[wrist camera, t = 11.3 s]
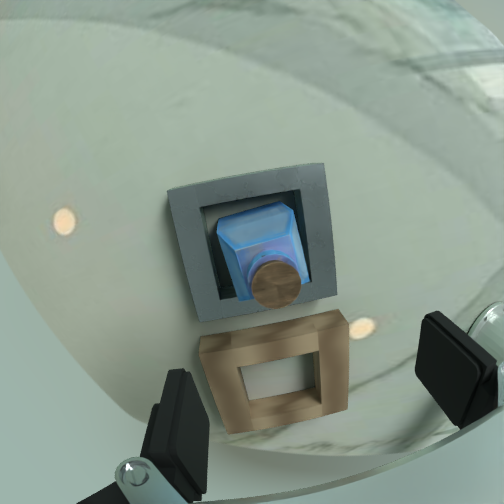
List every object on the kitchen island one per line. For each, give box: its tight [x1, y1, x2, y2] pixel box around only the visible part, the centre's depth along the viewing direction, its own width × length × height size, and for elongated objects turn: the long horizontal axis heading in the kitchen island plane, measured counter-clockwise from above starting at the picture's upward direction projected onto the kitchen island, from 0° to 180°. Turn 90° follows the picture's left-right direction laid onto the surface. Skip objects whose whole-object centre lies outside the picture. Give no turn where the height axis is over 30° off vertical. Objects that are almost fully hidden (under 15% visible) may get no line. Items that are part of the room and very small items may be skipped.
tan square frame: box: [199, 309, 349, 434], centre depth 33 cm, size 16×14×4 cm
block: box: [167, 163, 337, 322], centre depth 28 cm, size 14×13×3 cm
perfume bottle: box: [217, 201, 310, 309], centre depth 24 cm, size 6×6×12 cm
